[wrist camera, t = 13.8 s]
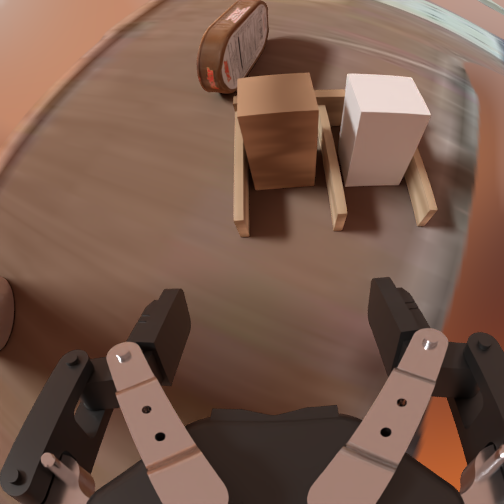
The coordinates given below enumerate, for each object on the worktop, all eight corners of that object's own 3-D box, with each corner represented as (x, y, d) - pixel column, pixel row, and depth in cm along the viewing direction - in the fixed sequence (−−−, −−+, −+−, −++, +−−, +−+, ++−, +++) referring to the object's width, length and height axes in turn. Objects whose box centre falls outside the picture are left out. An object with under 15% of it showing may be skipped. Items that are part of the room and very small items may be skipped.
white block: (345, 186, 25) (361, 111, 17) (337, 149, 26) (347, 73, 18) (398, 185, 24) (431, 115, 16) (388, 149, 26) (411, 77, 17)
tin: (253, 38, 35) (244, -12, 27) (275, 40, 34) (269, -12, 26) (205, 107, 31) (183, 46, 23) (231, 110, 30) (214, 47, 22)
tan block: (255, 190, 26) (237, 116, 18) (254, 153, 27) (237, 78, 19) (314, 185, 25) (318, 110, 17) (308, 149, 27) (309, 72, 18)
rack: (240, 236, 25) (230, 214, 21) (240, 125, 29) (233, 96, 25) (424, 225, 23) (442, 203, 19) (391, 119, 27) (399, 91, 23)
